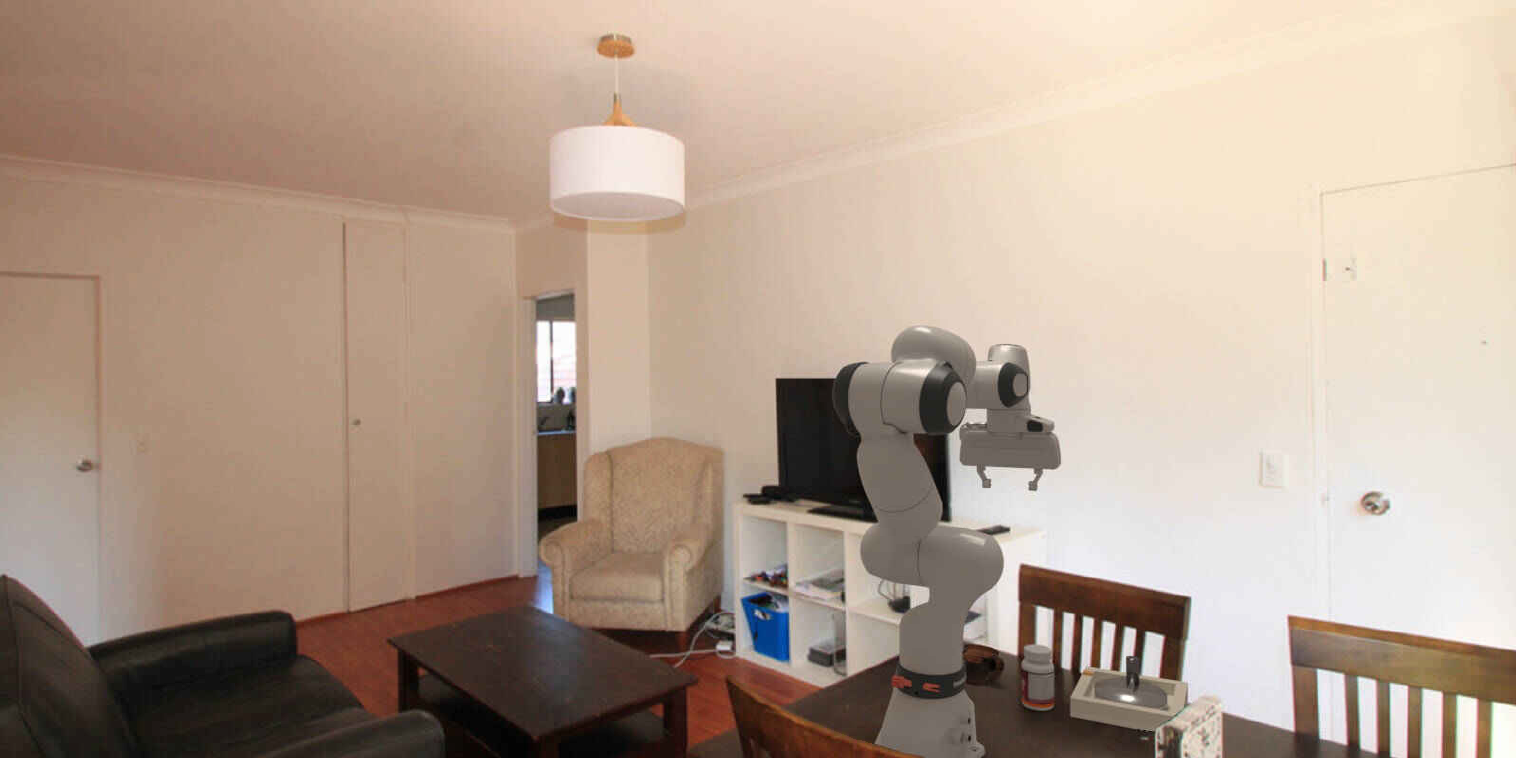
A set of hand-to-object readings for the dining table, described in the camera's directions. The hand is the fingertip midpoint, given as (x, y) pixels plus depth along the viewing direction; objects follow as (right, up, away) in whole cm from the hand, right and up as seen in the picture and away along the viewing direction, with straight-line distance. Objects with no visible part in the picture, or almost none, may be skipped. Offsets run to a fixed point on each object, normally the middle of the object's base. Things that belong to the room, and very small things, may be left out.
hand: (1009, 489), depth 171 cm
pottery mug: (-4, -42, +6) cm, 42 cm away
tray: (+20, -41, -10) cm, 47 cm away
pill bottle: (+3, -42, -8) cm, 43 cm away
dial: (+20, -40, -10) cm, 46 cm away
